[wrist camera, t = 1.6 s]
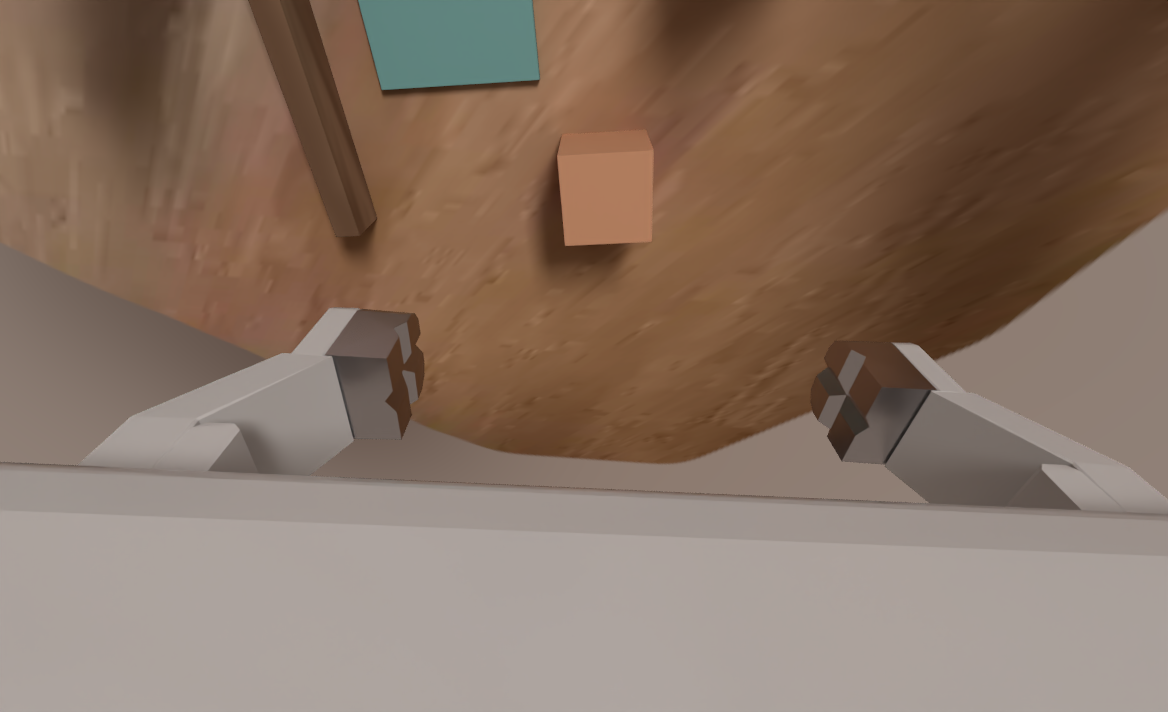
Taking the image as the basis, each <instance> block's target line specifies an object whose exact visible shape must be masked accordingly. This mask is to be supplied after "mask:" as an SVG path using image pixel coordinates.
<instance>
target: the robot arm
mask: <svg viewBox="0 0 1168 712" xmlns="http://www.w3.org/2000/svg"><path fill="white" fill-rule="evenodd" d="M420 334H421V333H420V326H419V320H418V317H417V316H416V314H415V313H405V312H393V311H381V310H368V309H359V308H339V307H334V308H329V309H328V310H327V312H326V313H325V314H324V315H323V316H322V318H321V319H320V320H319V321H318V322H317V324H316V325H315V326H314V327H313V328H312V329H311V331H310V332H309V333H308V334H307V335H306V337H305V338H304V339H303V340H302V341H301V342H300V344H299V345H298V346H297V347H296V348H295V350H294V351H293V352H292V353H291V354H288V353H281V354H279V355H277V356H274V357H272V358H269V359H267V360H265V361H262V362H260V363H258V364H255V365H253V366H250V367H248V368H246V369H243V370H241V371H238V372H236V373H234V374H231V375H229V376H226V377H224V378H222V379H219V380H217V381H214V382H212V383H210V384H208V385H205V386H203V387H200V388H198V389H195V390H193V391H191V392H188V393H186V394H183V395H181V396H179V397H176V398H174V399H171V400H169V401H167V402H164V403H162V404H160V405H157V406H155V407H152V408H150V409H148V410H145V411H143V412H140V413H138V414H136V415H133V416H131V417H130V418H129V419H128V420H127V421H126V422H125V423H123V424H122V425H121V426H120V427H119V428H118V429H117V430H116V431H115V432H113V433H112V434H111V435H110V436H109V437H108V438H107V439H106V440H105V441H104V442H102V443H101V444H100V445H99V446H98V447H97V448H96V449H95V450H94V451H93V452H91V453H90V454H89V455H88V456H87V457H86V458H85V459H84V460H83V461H82V462H80V463H79V464H78V465H56V464H34V463H11V462H0V712H1168V499H1166V498H1165V497H1164V496H1163V495H1162V494H1160V493H1159V492H1158V491H1157V490H1156V489H1154V488H1153V487H1152V486H1151V485H1150V484H1148V483H1147V482H1146V481H1145V480H1144V479H1142V478H1141V477H1140V476H1139V475H1138V474H1136V473H1135V472H1134V471H1132V469H1130V468H1129V467H1128V466H1126V465H1123V464H1121V463H1119V462H1117V461H1115V460H1113V459H1111V458H1109V457H1107V456H1105V455H1103V454H1100V453H1098V452H1096V451H1094V450H1092V449H1090V448H1088V447H1086V446H1084V445H1082V444H1079V443H1077V442H1076V441H1073V440H1071V439H1069V438H1067V437H1065V436H1063V435H1061V434H1059V433H1057V432H1055V431H1052V430H1050V429H1048V428H1046V427H1044V426H1042V425H1040V424H1038V423H1036V422H1034V421H1031V420H1030V419H1027V418H1025V417H1023V416H1021V415H1019V414H1017V413H1015V412H1013V411H1011V410H1009V409H1007V408H1005V407H1002V406H1000V405H998V404H996V403H994V402H992V401H990V400H988V399H986V398H984V397H982V396H980V395H977V394H975V393H967V392H966V391H965V390H964V389H963V388H962V387H961V386H960V385H959V384H957V383H956V382H955V381H954V380H953V379H952V378H951V377H950V376H949V375H948V374H947V373H946V372H945V371H944V370H943V369H942V368H941V367H940V366H939V365H938V364H937V363H936V362H935V361H934V360H933V359H932V358H931V357H930V356H929V355H928V354H927V353H926V352H925V351H924V350H922V349H921V348H920V347H919V346H918V345H915V344H912V343H894V342H864V341H834V343H833V344H832V345H831V346H830V347H829V348H828V351H827V353H826V355H825V357H824V359H825V362H826V364H827V368H826V369H825V370H823V371H822V372H821V373H819V374H818V375H817V376H816V378H815V380H814V383H813V386H812V388H811V406H812V410H813V413H814V415H815V416H816V418H817V420H818V421H819V422H821V423H822V424H824V425H825V426H827V427H828V428H829V429H830V430H829V433H828V435H827V437H828V439H829V441H830V442H831V444H832V446H833V447H834V449H835V450H836V452H837V454H838V455H839V457H840V459H841V461H845V462H859V463H872V464H885V467H886V468H887V469H888V470H890V471H891V472H892V473H893V474H895V475H896V476H897V477H898V478H899V479H901V480H902V481H903V482H904V483H906V484H907V485H908V486H909V487H910V488H912V489H913V490H914V491H915V492H917V493H918V494H919V495H920V496H922V497H923V498H924V499H925V500H926V501H928V502H929V504H928V503H907V502H885V501H863V500H862V501H861V500H840V499H839V500H838V499H817V498H793V497H773V496H750V495H749V496H748V495H727V494H704V493H680V492H660V491H659V492H658V491H637V490H615V489H592V488H569V487H548V486H526V485H502V484H481V483H458V482H457V483H456V482H436V481H413V480H392V479H369V478H347V477H346V478H345V477H325V476H310V475H311V474H312V473H314V472H315V471H316V470H317V469H318V468H320V467H321V466H322V465H324V464H325V463H326V462H328V461H329V460H330V459H331V458H332V457H334V456H335V455H336V454H338V453H339V452H340V451H341V450H343V449H344V448H345V447H347V446H348V445H349V444H350V443H352V442H353V441H354V440H353V439H395V440H396V439H397V440H398V439H399V440H401V439H402V437H403V434H404V432H405V430H406V427H407V425H408V423H409V420H410V418H411V416H412V413H411V407H410V404H412V403H413V402H415V401H416V400H418V398H419V396H420V393H421V390H422V386H423V380H424V356H423V352H422V351H421V350H420V349H419V348H418V347H417V346H416V342H417V340H418V338H419V336H420Z"/></svg>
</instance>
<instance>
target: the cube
mask: <svg viewBox="0 0 1168 712" xmlns="http://www.w3.org/2000/svg"><path fill="white" fill-rule="evenodd" d="M653 157H654V150H653V147H652V145H651V142H650V139H649V137H648V134H647V132H646V129H644V130H627V131H611V132H595V133H578V134H562V137H561V142H560V146H559V150H558V154H557V160H558V171H559V183H560V194H561V205H562V217H563V228H564V239H565V246H575V245H595V244H615V243H635V242H652V203H653Z"/></svg>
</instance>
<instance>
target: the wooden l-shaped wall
mask: <svg viewBox="0 0 1168 712" xmlns="http://www.w3.org/2000/svg"><path fill="white" fill-rule="evenodd" d="M248 1H249V3H250V6H251V9H252V12H253V14H254V17H255V20H256V22H257V25H258V28H259V30H260V33H261V36H262V38H263V41H264V44H265V47H266V49H267V52H268V55H269V57H270V60H271V63H272V65H273V68H274V71H275V74H276V76H277V79H278V82H279V84H280V87H281V90H282V92H283V95H284V98H285V100H286V103H287V106H288V109H289V111H290V114H291V117H292V119H293V122H294V125H295V127H296V130H297V133H298V136H299V138H300V141H301V144H302V146H303V149H304V152H305V154H306V157H307V160H308V162H309V165H310V168H311V171H312V173H313V176H314V179H315V181H316V184H317V187H318V189H319V192H320V195H321V198H322V200H323V203H324V206H325V208H326V211H327V214H328V216H329V219H330V222H331V224H332V227H333V230H334V233H335V235H336V237H347V236H360V235H361V234H362V233H363V232H364V231H365V230H366V229H367V228H368V227H369V226H370V225H371V224H372V223H373V222H374V221H375V220H376V219H377V216H376V213H375V210H374V207H373V203H372V200H371V197H370V194H369V191H368V187H367V184H366V181H365V178H364V175H363V171H362V168H361V165H360V162H359V159H358V155H357V152H356V149H355V146H354V143H353V139H352V136H351V133H350V130H349V127H348V123H347V120H346V117H345V114H344V111H343V107H342V104H341V101H340V98H339V95H338V91H337V88H336V85H335V82H334V79H333V75H332V72H331V69H330V66H329V63H328V59H327V56H326V53H325V50H324V47H323V43H322V40H321V37H320V34H319V31H318V27H317V24H316V21H315V18H314V15H313V11H312V8H311V5H310V2H309V0H248Z"/></svg>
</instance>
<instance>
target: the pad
mask: <svg viewBox="0 0 1168 712" xmlns="http://www.w3.org/2000/svg"><path fill="white" fill-rule="evenodd" d="M358 2H359V5H360V9H361V13H362V17H363V21H364V24H365V28H366V32H367V36H368V39H369V43H370V47H371V51H372V55H373V58H374V62H375V66H376V70H377V73H378V77H379V81H380V85H381V88H382V90H389V89H405V88H420V87H436V86H451V85H467V84H482V83H498V82H513V81H529V80H540V73H539V63H538V52H537V42H536V32H535V21H534V11H533V1H532V0H358Z"/></svg>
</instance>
